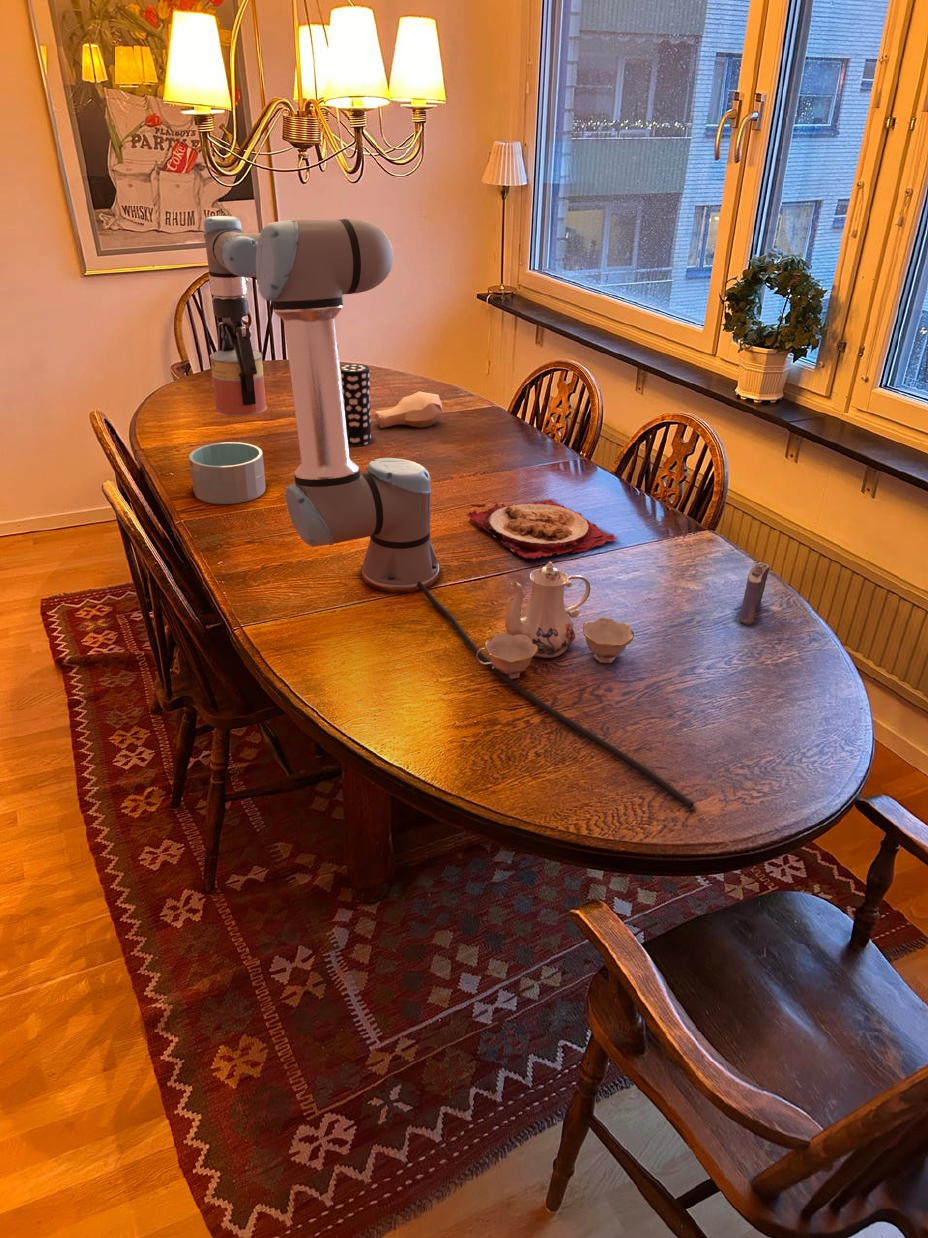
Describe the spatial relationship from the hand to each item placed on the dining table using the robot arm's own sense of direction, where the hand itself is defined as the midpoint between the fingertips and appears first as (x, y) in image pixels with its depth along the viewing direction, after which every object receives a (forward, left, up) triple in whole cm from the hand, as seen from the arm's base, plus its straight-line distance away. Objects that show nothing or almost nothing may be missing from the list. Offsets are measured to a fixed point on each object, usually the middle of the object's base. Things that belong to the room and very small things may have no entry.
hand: (240, 397), depth 198 cm
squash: (+24, -58, -22) cm, 66 cm away
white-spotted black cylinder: (+18, -38, -22) cm, 48 cm away
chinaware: (-95, -18, -22) cm, 99 cm away
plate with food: (-54, -47, -22) cm, 74 cm away
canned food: (0, 0, -3) cm, 3 cm away
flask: (-103, -59, -22) cm, 120 cm away
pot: (+1, +4, -22) cm, 23 cm away
